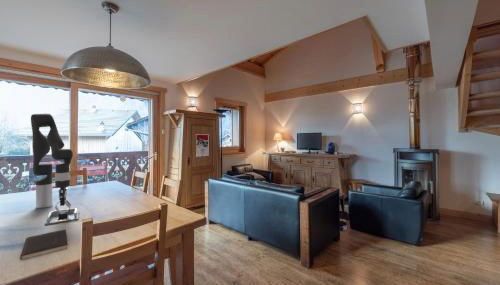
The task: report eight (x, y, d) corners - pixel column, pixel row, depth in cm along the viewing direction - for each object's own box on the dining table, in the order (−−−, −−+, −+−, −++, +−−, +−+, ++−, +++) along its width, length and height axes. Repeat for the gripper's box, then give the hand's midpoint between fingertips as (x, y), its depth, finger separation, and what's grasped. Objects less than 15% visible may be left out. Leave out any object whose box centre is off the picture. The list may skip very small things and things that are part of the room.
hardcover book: (66, 233, 125) (66, 229, 125) (67, 248, 108) (67, 244, 108) (25, 242, 114) (25, 237, 114) (20, 260, 97) (20, 255, 97)
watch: (71, 216, 146) (70, 200, 145) (54, 219, 141) (54, 202, 141) (71, 214, 150) (71, 198, 150) (56, 216, 146) (55, 200, 145)
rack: (49, 216, 149) (48, 210, 148) (79, 212, 158) (79, 206, 158) (44, 225, 134) (44, 219, 134) (78, 220, 143) (78, 213, 143)
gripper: (56, 178, 149) (56, 202, 149) (53, 181, 137) (54, 207, 138) (70, 177, 153) (71, 200, 154) (69, 180, 142) (69, 205, 142)
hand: (63, 203), depth 146 cm, fingers open, 8 cm apart
